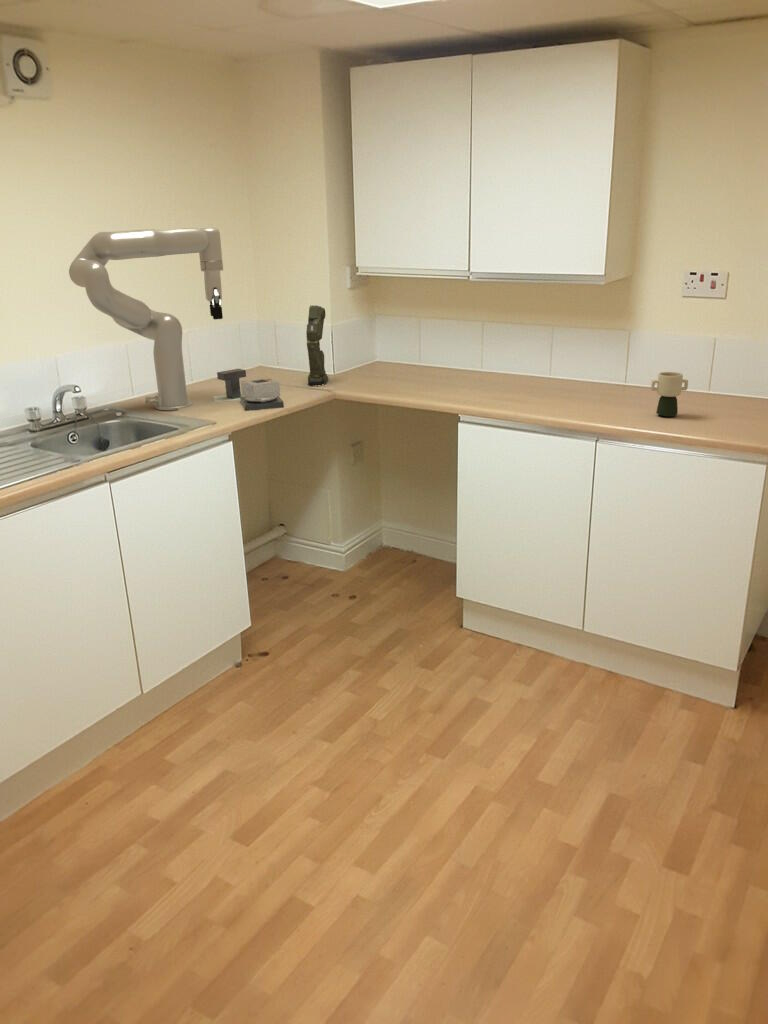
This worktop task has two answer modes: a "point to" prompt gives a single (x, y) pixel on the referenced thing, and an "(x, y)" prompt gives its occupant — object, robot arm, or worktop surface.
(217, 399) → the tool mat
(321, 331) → the mechanical leg
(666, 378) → the character mug
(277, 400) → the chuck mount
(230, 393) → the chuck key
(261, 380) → the grey boxy piece
